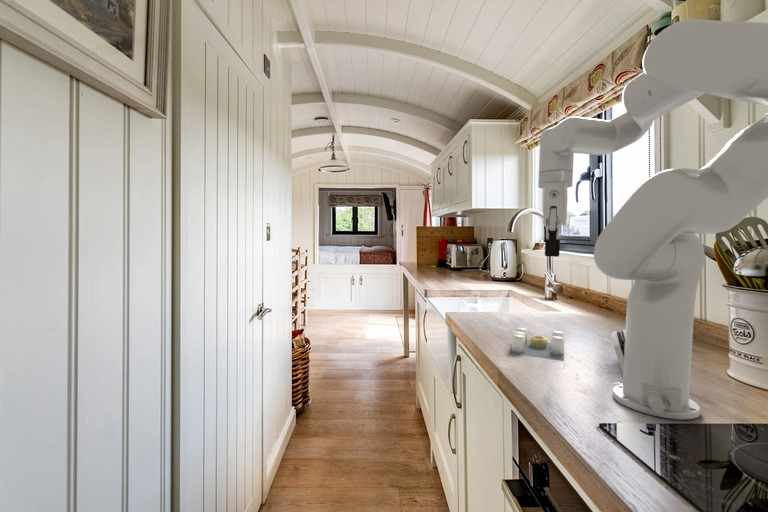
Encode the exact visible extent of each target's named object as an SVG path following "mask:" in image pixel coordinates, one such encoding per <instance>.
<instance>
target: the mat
mask: <svg viewBox="0 0 768 512" xmlns="http://www.w3.org/2000/svg"><path fill="white" fill-rule="evenodd" d="M550 351H551V342H547V348H535V347H531V346H530V340H529V339H527V344H525V349H524V353H516V352H513V351H512V348H510V351H509V354H515V355H521V356H526V357H528V356H529V357H535V358H543V359H546V360H547V359H549V360H555V361H562V362H564V360H565V352H564V353H563V355H555V354H552V353H550Z"/></svg>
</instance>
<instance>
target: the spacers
mask: <svg viewBox="0 0 768 512" xmlns="http://www.w3.org/2000/svg"><path fill="white" fill-rule="evenodd" d="M511 338H512V339H511V349H512V351H513V352H516V353H524V349H525V344H527V340H528V329H527V327H526V328H525V327H515V331H513V332H512V337H511ZM550 343H551V351H550V353H552V354H555V355H563V353H564V354H565V333H564V332H563V331H559V330H552V331H551V336H550Z"/></svg>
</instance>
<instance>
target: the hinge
mask: <svg viewBox="0 0 768 512" xmlns="http://www.w3.org/2000/svg"><path fill="white" fill-rule="evenodd" d="M625 331H626V329H622V330H621V332H620V331H618V330H615V331H613V332H611V334H610V335H611V340H612V344H613V349H614V351H615V354H616V358H617V360H618V363H619V365H620V368H621V372H622V373H623V371H624V351H625Z"/></svg>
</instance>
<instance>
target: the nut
mask: <svg viewBox="0 0 768 512" xmlns="http://www.w3.org/2000/svg"><path fill="white" fill-rule="evenodd" d="M547 343H548V337H545V336H542V335H531V336H530V346H531V347H535V348H547Z"/></svg>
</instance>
